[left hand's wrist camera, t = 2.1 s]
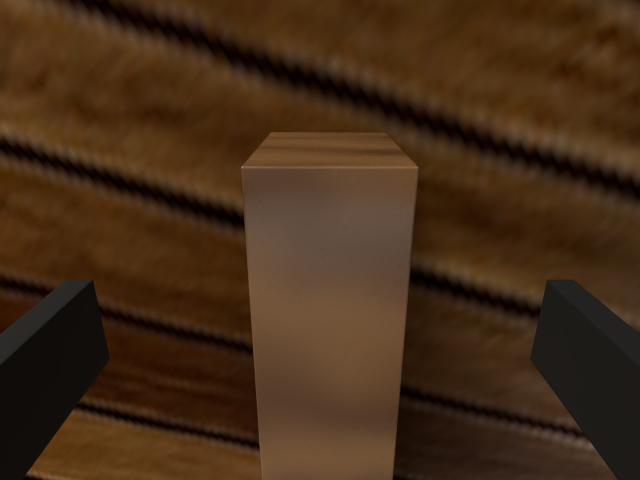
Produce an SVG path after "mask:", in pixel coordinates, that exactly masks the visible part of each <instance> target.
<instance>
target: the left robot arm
mask: <svg viewBox="0 0 640 480" xmlns="http://www.w3.org/2000/svg"><path fill="white" fill-rule="evenodd" d="M109 359H110V358H109V353H108V349H107V344H106V339H105V335H104V330H103V325H102V321H101V316H100V311H99V307H98V302H97V297H96V293H95V288H94V283H93V280H66V281H64V282H63V283H62V284H61V285H59V286H58V287H57V288H56V289H55V290H53V291H52V292H51V293H50V294H49V295H47V296H46V297H45V298H44V299H43V300H41V301H40V302H39V303H38V304H36V305H35V306H34V307H33V308H32V309H30V310H29V311H28V312H27V313H26V314H24V315H23V316H22V317H21V318H20V319H18V320H17V321H16V322H15V323H14V324H12V325H11V326H10V327H9V328H7V329H6V330H5V331H4V332H3V333H1V334H0V480H22V479H23V478H24V476H25V475H26V474H27V472H28V471H29V469H30V468H31V467H32V465H33V464H34V463H35V461H36V460H37V458H38V457H39V456H40V454H41V453H42V452H43V450H44V449H45V447H46V446H47V445H48V443H49V442H50V441H51V439H52V438H53V436H54V435H55V434H56V432H57V431H58V430H59V428H60V427H61V425H62V424H63V423H64V421H65V420H66V419H67V417H68V416H69V414H70V413H71V412H72V410H73V409H74V408H75V406H76V405H77V403H78V402H79V401H80V399H81V398H82V397H83V395H84V394H85V392H86V391H87V390H88V388H89V387H90V386H91V384H92V383H93V381H94V380H95V379H96V377H97V376H98V375H99V373H100V372H101V370H102V369H103V368H104V366H105V365H106V364H107V362H108V361H109ZM530 359H531V361H532V362H533V364H534V365H535V366H536V368H537V369H538V370H539V372H540V373H541V375H542V376H543V377H544V379H545V380H546V381H547V383H548V384H549V386H550V387H551V388H552V390H553V391H554V392H555V394H556V395H557V397H558V398H559V399H560V401H561V402H562V403H563V405H564V406H565V408H566V409H567V410H568V412H569V413H570V414H571V416H572V417H573V419H574V420H575V421H576V423H577V424H578V425H579V427H580V428H581V430H582V431H583V432H584V434H585V435H586V436H587V438H588V439H589V441H590V442H591V443H592V445H593V446H594V447H595V449H596V450H597V452H598V453H599V454H600V456H601V457H602V458H603V460H604V461H605V463H606V464H607V465H608V467H609V468H610V469H611V471H612V472H613V474H614V475H615V476H616V478H617V479H618V480H640V334H639V333H637V332H636V331H635V330H634V329H633V328H631V327H630V326H629V325H628V324H626V323H625V322H624V321H623V320H622V319H620V318H619V317H618V316H617V315H616V314H614V313H613V312H612V311H611V310H610V309H608V308H607V307H606V306H605V305H604V304H602V303H601V302H600V301H599V300H597V299H596V298H595V297H594V296H593V295H591V294H590V293H589V292H588V291H587V290H585V289H584V288H583V287H582V286H581V285H579V284H578V283H577V282H576V281H574V280H547V283H546V288H545V293H544V297H543V302H542V307H541V311H540V316H539V321H538V325H537V330H536V335H535V339H534V344H533V349H532V353H531V358H530Z"/></svg>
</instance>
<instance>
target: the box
mask: <svg viewBox="0 0 640 480" xmlns="http://www.w3.org/2000/svg"><path fill="white" fill-rule="evenodd" d="M418 173H419V168H418V166H417V165H416V164H415V163H414V162H413V161H412V160H411V159H410V158H409V157H408V156H407V155H406V154H405V152H404V151H403V150H402V149H401V148H400V147H399V146H398V145H397V144H396V143H395V142H394V141H393V140H392V139H391V138H390V137H389V136H388V135H387V134H386V133H385V132H271V133H270V134H269V136H268V137H267V138H266V139H265V140H264V141H263V142H262V144H261V145H260V146H259V147H258V148H257V149H256V150H255V152H254V153H253V154H252V155H251V156H250V157H249V158H248V160H247V161H246V162H245V163H244V164H243V165H242V167H241V176H242V191H243V206H244V221H245V235H246V250H247V265H248V280H249V294H250V309H251V324H252V339H253V354H254V368H255V383H256V398H257V413H258V427H259V442H260V457H261V472H262V480H393V470H394V458H395V446H396V434H397V422H398V410H399V398H400V387H401V375H402V363H403V351H404V339H405V327H406V315H407V303H408V292H409V280H410V268H411V256H412V244H413V232H414V220H415V208H416V196H417V185H418Z"/></svg>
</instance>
